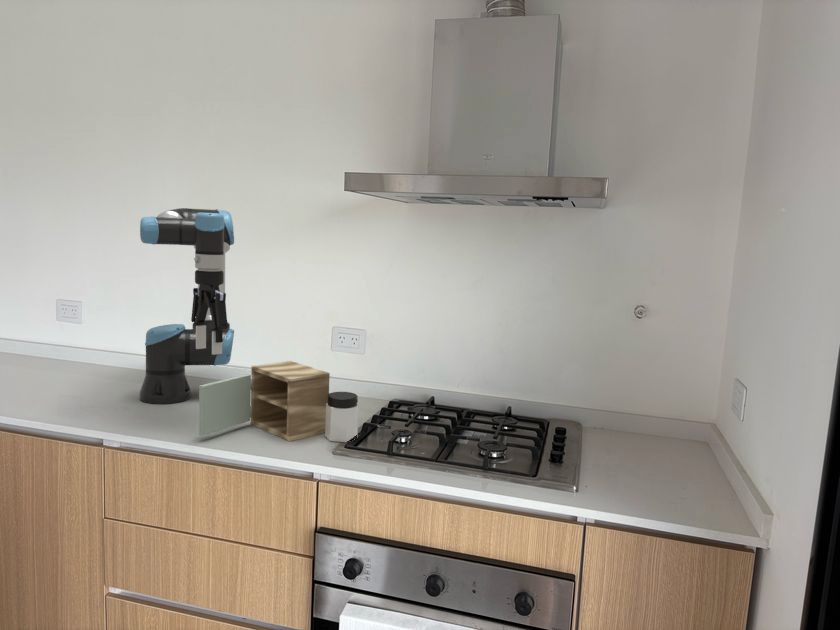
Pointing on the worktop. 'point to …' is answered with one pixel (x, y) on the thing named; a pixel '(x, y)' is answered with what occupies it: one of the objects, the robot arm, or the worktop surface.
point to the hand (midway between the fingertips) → (208, 351)
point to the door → (224, 404)
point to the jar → (341, 416)
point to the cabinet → (289, 399)
